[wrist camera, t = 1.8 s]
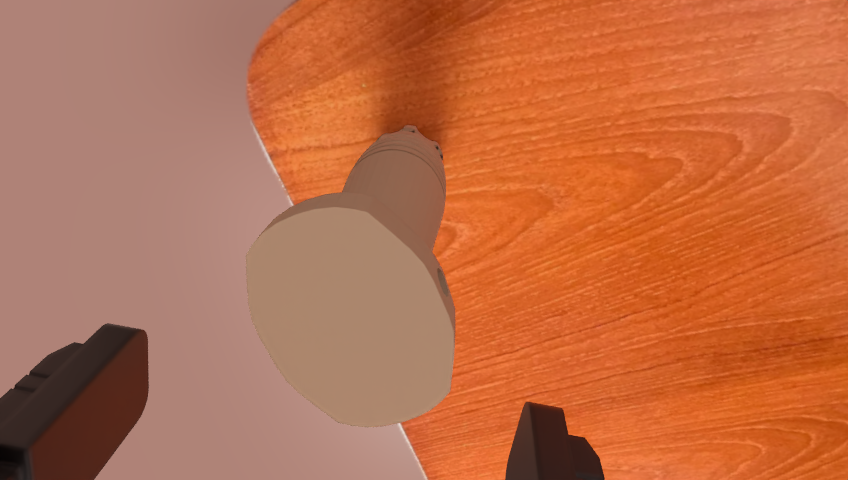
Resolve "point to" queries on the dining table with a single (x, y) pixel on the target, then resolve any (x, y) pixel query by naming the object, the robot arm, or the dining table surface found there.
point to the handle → (361, 289)
